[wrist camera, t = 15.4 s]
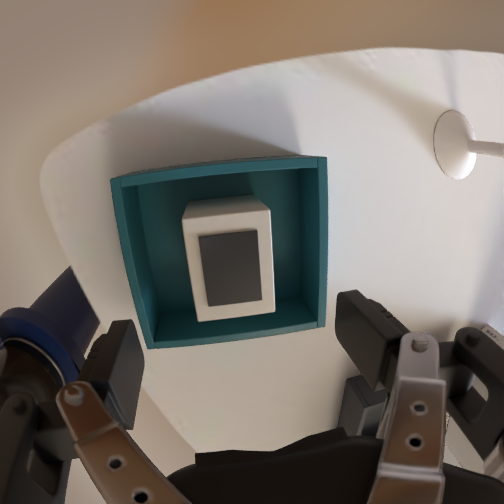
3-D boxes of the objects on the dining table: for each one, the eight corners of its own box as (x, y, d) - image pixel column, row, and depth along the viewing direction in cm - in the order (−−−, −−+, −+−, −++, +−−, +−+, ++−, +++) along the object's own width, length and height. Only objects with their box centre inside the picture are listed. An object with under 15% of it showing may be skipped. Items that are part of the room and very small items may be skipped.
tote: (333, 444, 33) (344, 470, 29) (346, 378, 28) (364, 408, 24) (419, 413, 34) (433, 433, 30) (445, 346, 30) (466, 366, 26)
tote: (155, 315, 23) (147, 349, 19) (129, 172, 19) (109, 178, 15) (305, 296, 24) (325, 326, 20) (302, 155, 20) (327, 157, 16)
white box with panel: (198, 282, 22) (197, 323, 17) (187, 201, 20) (180, 219, 15) (259, 275, 22) (276, 313, 17) (254, 193, 20) (271, 209, 15)
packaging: (465, 425, 41) (511, 485, 23) (443, 441, 41) (487, 506, 23) (488, 323, 31) (579, 402, 12) (459, 346, 31) (551, 439, 12)
